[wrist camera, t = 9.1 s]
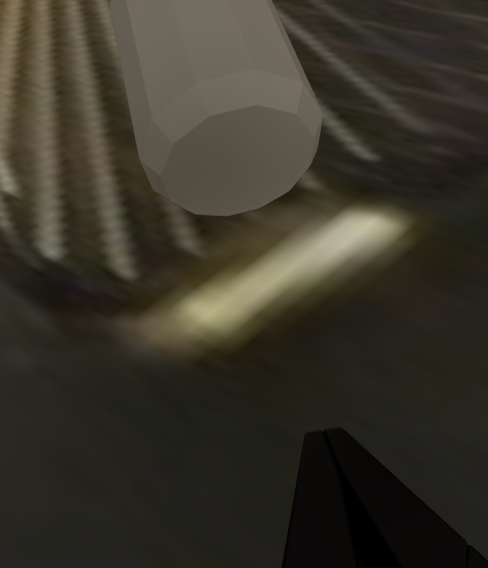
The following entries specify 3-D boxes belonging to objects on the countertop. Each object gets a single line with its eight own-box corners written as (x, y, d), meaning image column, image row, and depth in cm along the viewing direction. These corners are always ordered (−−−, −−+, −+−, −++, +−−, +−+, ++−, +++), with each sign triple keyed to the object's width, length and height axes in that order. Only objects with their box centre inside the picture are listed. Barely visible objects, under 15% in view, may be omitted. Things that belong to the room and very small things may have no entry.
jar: (138, 87, 14) (89, -143, 21) (145, 232, 23) (109, 35, 30) (365, 87, 17) (257, -117, 24) (295, 216, 26) (231, 39, 32)
